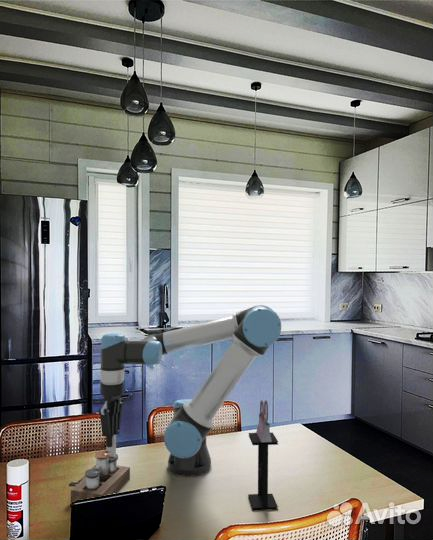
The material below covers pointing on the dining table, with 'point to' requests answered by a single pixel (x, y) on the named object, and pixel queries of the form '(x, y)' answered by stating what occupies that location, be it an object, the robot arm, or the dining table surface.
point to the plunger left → (92, 479)
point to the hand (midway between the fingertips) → (111, 455)
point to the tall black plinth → (263, 462)
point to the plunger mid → (102, 464)
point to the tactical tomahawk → (79, 480)
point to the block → (102, 485)
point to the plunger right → (112, 464)
